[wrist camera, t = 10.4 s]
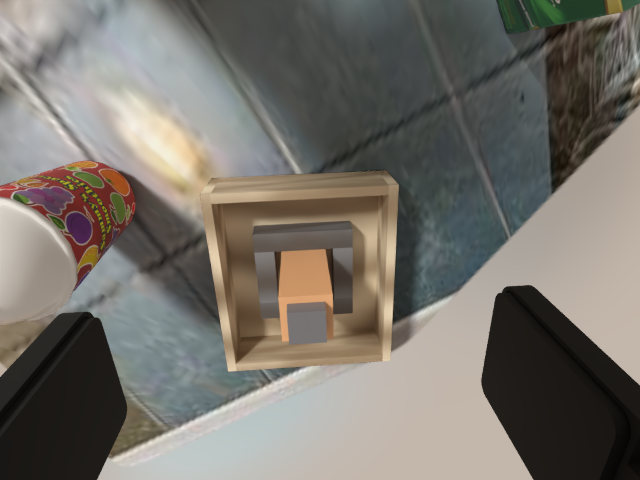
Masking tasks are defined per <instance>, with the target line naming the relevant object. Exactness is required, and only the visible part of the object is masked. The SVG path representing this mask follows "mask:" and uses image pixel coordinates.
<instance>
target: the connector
mask: <svg viewBox="0 0 640 480" xmlns="http://www.w3.org/2000/svg"><path fill="white" fill-rule="evenodd" d="M278 300H279V311H280V323H281V334H282V342H285V341H289V345H295V344H311V343H327V339H332V338H334V328H333V293H332V287H331V281H330V275H329V269H328V263H327V257H326V251H325V249H316V250H298V251H282V252H281V266H280V280H279V294H278Z"/></svg>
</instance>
